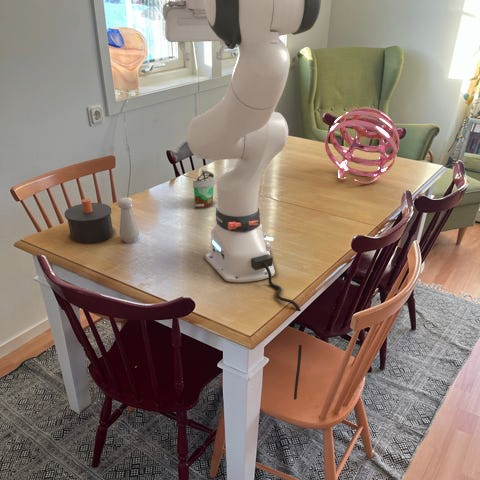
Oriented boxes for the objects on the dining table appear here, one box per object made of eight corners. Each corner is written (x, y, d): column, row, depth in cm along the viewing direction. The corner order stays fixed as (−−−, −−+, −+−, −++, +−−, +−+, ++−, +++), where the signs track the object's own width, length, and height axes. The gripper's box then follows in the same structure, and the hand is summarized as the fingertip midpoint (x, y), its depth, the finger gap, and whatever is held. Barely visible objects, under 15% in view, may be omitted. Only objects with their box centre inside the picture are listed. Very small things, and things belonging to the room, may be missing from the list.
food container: (211, 211, 164) (210, 183, 158) (194, 209, 165) (192, 181, 159) (219, 198, 174) (219, 171, 168) (203, 197, 175) (202, 169, 169)
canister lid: (113, 221, 141) (111, 206, 138) (64, 226, 138) (61, 211, 135) (110, 204, 152) (108, 190, 149) (65, 208, 149) (62, 194, 146)
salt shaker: (130, 245, 142) (125, 204, 135) (116, 241, 145) (110, 200, 137) (143, 238, 146) (139, 197, 139) (129, 234, 149) (124, 194, 141)
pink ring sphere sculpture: (374, 145, 161) (398, 86, 169) (303, 151, 178) (327, 96, 186) (395, 198, 182) (415, 143, 190) (330, 199, 199) (351, 148, 207)
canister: (114, 240, 145) (111, 219, 141) (71, 245, 142) (66, 223, 138) (111, 224, 155) (108, 203, 151) (71, 228, 152) (67, 207, 148)
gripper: (163, 1, 122) (168, 62, 130) (240, 1, 126) (240, 60, 134) (160, 0, 127) (164, 59, 135) (234, 0, 131) (234, 57, 139)
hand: (203, 59), depth 134 cm, fingers open, 8 cm apart
